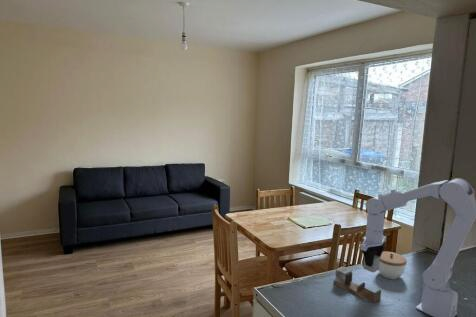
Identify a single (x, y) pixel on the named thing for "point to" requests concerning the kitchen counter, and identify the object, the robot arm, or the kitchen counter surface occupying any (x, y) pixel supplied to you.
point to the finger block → (374, 266)
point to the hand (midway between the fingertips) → (371, 263)
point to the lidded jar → (392, 265)
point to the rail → (354, 285)
